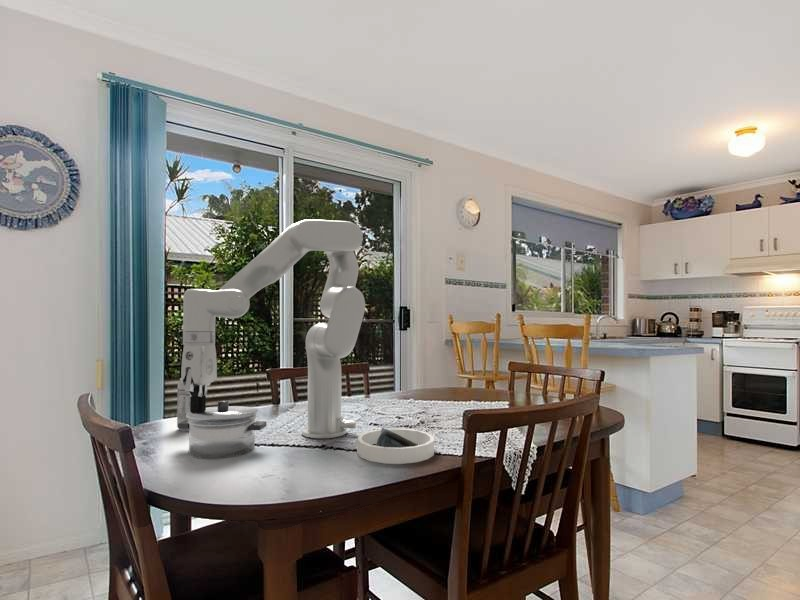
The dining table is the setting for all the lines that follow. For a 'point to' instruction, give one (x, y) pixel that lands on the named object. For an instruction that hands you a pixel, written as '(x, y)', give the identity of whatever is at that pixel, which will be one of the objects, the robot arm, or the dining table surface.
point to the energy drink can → (182, 404)
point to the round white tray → (394, 453)
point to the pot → (221, 437)
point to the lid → (223, 413)
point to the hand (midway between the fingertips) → (197, 411)
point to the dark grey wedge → (393, 440)
